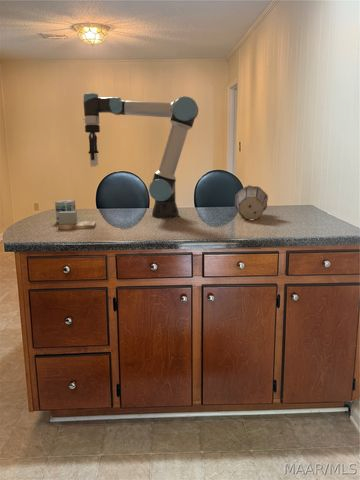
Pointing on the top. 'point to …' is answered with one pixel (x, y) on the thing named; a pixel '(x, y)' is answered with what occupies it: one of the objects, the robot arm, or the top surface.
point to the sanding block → (67, 217)
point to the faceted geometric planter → (251, 202)
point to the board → (79, 225)
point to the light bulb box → (64, 207)
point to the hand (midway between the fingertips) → (94, 166)
